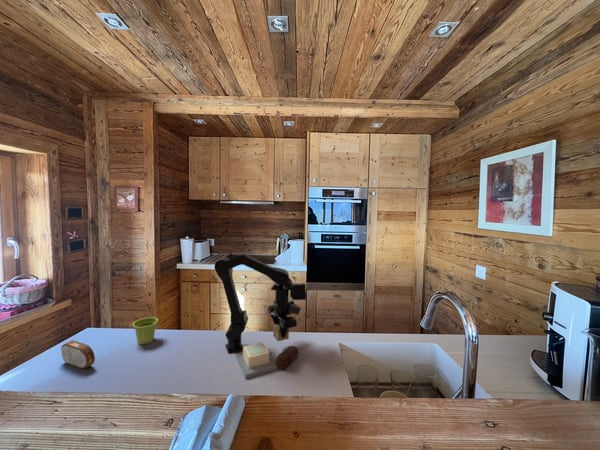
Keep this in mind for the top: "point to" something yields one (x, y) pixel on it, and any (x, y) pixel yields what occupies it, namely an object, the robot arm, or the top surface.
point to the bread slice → (78, 354)
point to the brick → (286, 357)
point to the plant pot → (145, 329)
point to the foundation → (255, 360)
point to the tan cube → (278, 334)
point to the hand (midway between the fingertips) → (281, 334)
